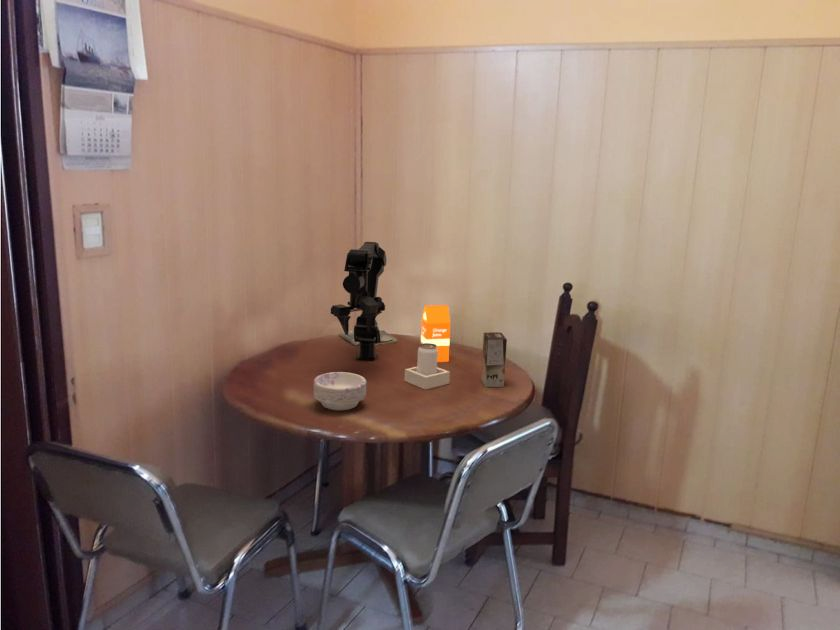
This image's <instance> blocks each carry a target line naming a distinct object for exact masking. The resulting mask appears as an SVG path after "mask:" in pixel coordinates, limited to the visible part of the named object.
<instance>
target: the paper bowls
mask: <svg viewBox="0 0 840 630" xmlns="http://www.w3.org/2000/svg"><path fill="white" fill-rule="evenodd" d="M366 396H367V379H366V378H365V377H364V376H362V375H360V374H356V373H353V372H349V371H348V372H345V371H332V372H326V373H322V374H320V375H317V376H316V377H315V378H314V379H313V397H314V399H315V400H317V401H318V402H320V403H321V406H323V407H324V408H325V409H328V410H331V411H339V412H342V411H348V410H352V409H354V408H356V407H357V406H358V404H359V402H361V401H363V400H364V399H365V398H366Z"/></svg>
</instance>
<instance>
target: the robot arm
mask: <svg viewBox="0 0 840 630" xmlns="http://www.w3.org/2000/svg"><path fill="white" fill-rule="evenodd" d="M346 254H347V255H346V258H345V263H344V264H345V265H344V269H343V270H344V272H348V275H347V276H346V277H344V279H343V282H342V287H343V290H344V291H346V292H347V293H348V294H349V301H347V305H344V304H334V305H332V306H331V308H330V314H331V315H333V317H336V318H337V319H338V321H339V323H340V325H341V328H342V330H343V332H344V333H345V335H348V331H350V330H349V321H350V319H351V317H352V316H350V314H351V313H352V312H353V313H354V312H359V311H361V314H360V315H357V318H356V321H355V325H354V327H353V330H354V342H359V347H358V355H356V358H355V359H356V360H363V361H374V360H375V359H376V358H377V357H378V354H376V351H375V350H376V345H375V343H379V342H381V337H380V331H381V330H380V329H379V325H378V322H377V317H378V316H379V315H380V314H382V313H383V311H386V304H385V303H384V302H383V298H382V297H381V296H377V295H378V284H379V278H380V276H381V275H382V274H383V273H384V270H385V267H386V265H387V254H386V251H385V250H384V249H383V248H381V247H380V245H379V242H377V241H365V242H363V244H362V245H361V246H360V247H359V248H356V249H355V248H351V249H350V250H348V252H347V253H346ZM379 330H380V331H379Z"/></svg>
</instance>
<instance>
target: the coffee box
mask: <svg viewBox="0 0 840 630" xmlns="http://www.w3.org/2000/svg"><path fill="white" fill-rule="evenodd" d="M482 335H483V338H482V356H481V374H480V379H481V382H482V383H483V385H484V387H486V388H497V387H498V388H504V386H505V385H504V384H505V374H506V359H507V358H506V356H507V346H508V345H507V343H508V341H507V338H506V337H505V335H504V334H503V333H502V332H494V331H491V332H483V334H482Z"/></svg>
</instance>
